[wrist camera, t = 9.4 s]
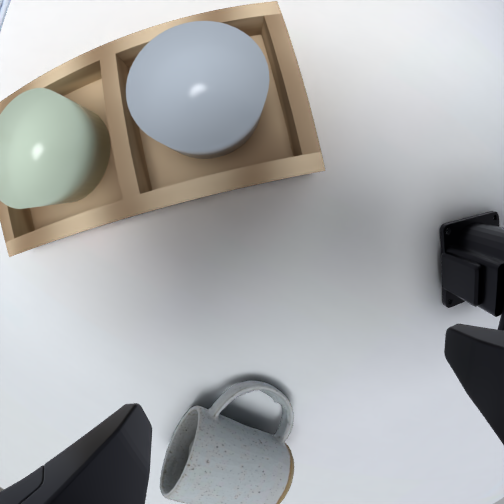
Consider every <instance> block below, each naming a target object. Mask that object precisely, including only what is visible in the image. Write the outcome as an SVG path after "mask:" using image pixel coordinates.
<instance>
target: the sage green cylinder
mask: <svg viewBox="0 0 504 504" xmlns="http://www.w3.org/2000/svg"><path fill="white" fill-rule="evenodd" d="M109 157H110V138H109V133H108V130H107V127H106V125H105V123H104V122H103V120H102V119H101V118H100V117H99V116H98V115H97V114H96V113H95V112H93V111H91V110H89V109H87V108H85V107H84V106H82V105H80V104H78V103H76V102H74V101H72V100H70V99H68V98H66V97H64V96H62V95H60V94H58V93H56V92H54V91H52V90H49V89H46V88H34V89H30V90H27V91H25V92H23V93H21V94H20V95H18V96H17V97H15V98H14V99H13V100H12V101H11V102H10V103H9V104H8V105H7V106H6V107H5V109H4V110H3V111H2V113H1V114H0V201H1V202H3V203H4V204H5V205H7V206H9V207H12V208H15V209H24V208H32V207H40V206H48V205H56V204H65V203H72V202H76V201H78V200H81V199H82V198H84V197H86V196H87V195H88V194H90V193H91V192H92V191H93V190H94V189H95V188H96V186H97V185H98V184H99V182H100V181H101V179H102V177H103V175H104V173H105V171H106V168H107V165H108V162H109Z"/></svg>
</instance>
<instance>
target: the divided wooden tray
mask: <svg viewBox="0 0 504 504" xmlns="http://www.w3.org/2000/svg"><path fill="white" fill-rule="evenodd" d="M194 21H214V22H220V23H224V24H228V25H230V26H233V27H235V28H237V29H239V30H241V31H243V32H244V33H245V34H247V35H248V36H249V37H251V38H252V39H253V40H254V41H255V42H256V44H257V45H258V46H259V48H260V49H261V51H262V52H263V54H264V56H265V59H266V61H267V64H268V69H269V89H268V93H267V97H266V100H265V103H264V107H263V110H262V113H261V117H260V120H259V123H258V125H257V128H256V129H255V131H254V133H253V134H252V136H251V137H250V138H249V139H248V140H247V141H246V142H245V143H244V144H243V145H242V146H241V147H239V148H238V149H236V150H235V151H233V152H231V153H229V154H227V155H224V156H221V157H217V158H212V159H197V158H192V157H188V156H185V155H183V154H181V153H179V152H177V151H175V150H173V149H171V148H169V147H167V146H166V145H164V144H162V143H160V142H158V141H156V140H154V139H153V138H151V137H150V136H148V135H147V134H146V133H145V132H144V131H143V130H141V129H140V127H139V126H138V125H137V124H136V122H135V121H134V119H133V117H132V116H131V113H130V111H129V108H128V104H127V100H126V83H127V78H128V74H129V71H130V68H131V66H132V64H133V62H134V60H135V58H136V57H137V55H138V54H139V52H140V51H141V50H142V49H143V48H144V47H145V46H146V45H147V44H148V43H149V42H150V41H151V40H152V39H153V38H155V37H156V36H157V35H159V34H160V33H162V32H164V31H166V30H168V29H170V28H172V27H174V26H177V25H180V24H184V23H188V22H194ZM34 88H46V89H49V90H52V91H54V92H56V93H58V94H60V95H62V96H64V97H66V98H68V99H70V100H72V101H74V102H76V103H78V104H80V105H82V106H84V107H85V108H87V109H89V110H91V111H93V112H95V113H96V114H97V115H98V116H99V117H100V118H101V119H102V120H103V122H104V123H105V125H106V127H107V130H108V133H109V138H110V157H109V162H108V165H107V168H106V171H105V173H104V175H103V177H102V179H101V181H100V182H99V184H98V185H97V186H96V188H95V189H94V190H93V191H92V192H91V193H90V194H88V195H87V196H86V197H84V198H82V199H81V200H78V201H76V202H72V203H65V204H56V205H48V206H40V207H32V208H24V209H15V208H12V207H9V206H7V205H5V204H4V203H3V202H1V201H0V221H1V226H2V230H3V235H4V239H5V243H6V247H7V250H8V254H9V257H11V256H13V255H16V254H19V253H22V252H24V251H27V250H30V249H33V248H35V247H38V246H41V245H44V244H47V243H50V242H52V241H55V240H58V239H61V238H64V237H67V236H70V235H73V234H76V233H79V232H83V231H86V230H89V229H92V228H95V227H98V226H101V225H105V224H108V223H111V222H115V221H118V220H121V219H125V218H128V217H131V216H135V215H138V214H142V213H145V212H149V211H153V210H156V209H160V208H163V207H167V206H171V205H175V204H178V203H182V202H186V201H190V200H194V199H198V198H202V197H206V196H210V195H214V194H218V193H222V192H226V191H231V190H235V189H239V188H244V187H248V186H252V185H257V184H261V183H266V182H271V181H275V180H280V179H285V178H290V177H295V176H300V175H305V174H310V173H315V172H321V171H325V167H324V162H323V158H322V153H321V149H320V145H319V141H318V136H317V132H316V128H315V124H314V120H313V116H312V112H311V108H310V105H309V101H308V97H307V94H306V90H305V86H304V83H303V79H302V76H301V72H300V69H299V66H298V62H297V59H296V56H295V53H294V49H293V46H292V43H291V40H290V37H289V34H288V31H287V28H286V25H285V22H284V19H283V16H282V13H281V11H280V8H279V5H278V2H277V1H274V2H264V3H256V4H249V5H242V6H236V7H230V8H225V9H219V10H214V11H210V12H205V13H200V14H196V15H192V16H188V17H184V18H180V19H177V20H173V21H170V22H166V23H163V24H159V25H156V26H153V27H150V28H147V29H144V30H141V31H138V32H135V33H132V34H130V35H127V36H124V37H122V38H119V39H117V40H114V41H112V42H109V43H107V44H104V45H102V46H100V47H97V48H95V49H93V50H91V51H88V52H86V53H84V54H82V55H80V56H78V57H76V58H74V59H72V60H70V61H68V62H66V63H64V64H62V65H60V66H58V67H56V68H54V69H52V70H51V71H49V72H47V73H45V74H43V75H42V76H40V77H38V78H37V79H35V80H33V81H32V82H30V83H28V84H27V85H25V86H23V87H22V88H20V89H19V90H17V91H16V92H14V93H13V94H11V95H10V96H8V97H7V98H5V99H4V100H2V101H1V102H0V114H1V113H2V111H3V110H4V109H5V107H6V106H7V105H8V104H9V103H10V102H11V101H12V100H13V99H14V98H15V97H17V96H18V95H20V94H21V93H23V92H25V91H27V90H30V89H34Z"/></svg>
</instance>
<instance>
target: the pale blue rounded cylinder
mask: <svg viewBox="0 0 504 504" xmlns="http://www.w3.org/2000/svg"><path fill="white" fill-rule="evenodd" d="M268 89H269V69H268V64H267V61H266V59H265V56H264V54H263V52H262V51H261V49H260V48H259V46H258V45H257V44H256V42H255V41H254V40H253V39H252V38H251V37H249V36H248V35H247V34H245V33H244V32H243V31H241V30H239V29H237V28H235V27H233V26H230V25H228V24H224V23H220V22H214V21H194V22H188V23H184V24H180V25H177V26H174V27H172V28H170V29H168V30H166V31H164V32H162V33H160V34H159V35H157V36H156V37H155V38H153V39H152V40H151V41H150V42H149V43H148V44H147V45H146V46H145V47H144V48H143V49H142V50H141V51H140V52H139V54H138V55H137V57H136V58H135V60H134V62H133V64H132V66H131V68H130V71H129V74H128V78H127V83H126V100H127V104H128V108H129V111H130V113H131V116H132V117H133V119H134V121H135V122H136V124H137V125H138V126H139V127H140V129H141V130H143V131H144V132H145V133H146V134H147V135H148V136H150V137H151V138H153V139H154V140H156V141H158V142H160V143H162V144H164V145H166V146H167V147H169V148H171V149H173V150H175V151H177V152H179V153H181V154H183V155H185V156H188V157H192V158H197V159H212V158H217V157H221V156H224V155H227V154H229V153H231V152H233V151H235V150H236V149H238V148H239V147H241V146H242V145H243V144H244V143H245V142H246V141H247V140H248V139H249V138H250V137H251V136H252V134H253V133H254V131H255V129H256V128H257V125H258V123H259V120H260V117H261V113H262V110H263V107H264V103H265V100H266V97H267V93H268Z"/></svg>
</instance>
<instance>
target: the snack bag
mask: <svg viewBox="0 0 504 504" xmlns="http://www.w3.org/2000/svg"><path fill="white" fill-rule="evenodd" d="M10 1H11V0H0V31H1V28H2V25H3V22H4V18H5V16H6V13H7V10H8V7H9V4H10Z"/></svg>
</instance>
